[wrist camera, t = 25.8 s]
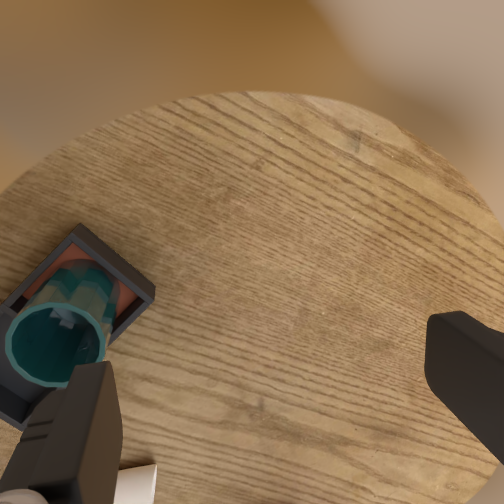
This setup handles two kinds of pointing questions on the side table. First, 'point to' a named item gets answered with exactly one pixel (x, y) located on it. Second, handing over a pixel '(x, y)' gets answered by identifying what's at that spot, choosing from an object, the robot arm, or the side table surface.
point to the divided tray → (72, 247)
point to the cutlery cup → (64, 323)
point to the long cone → (136, 485)
